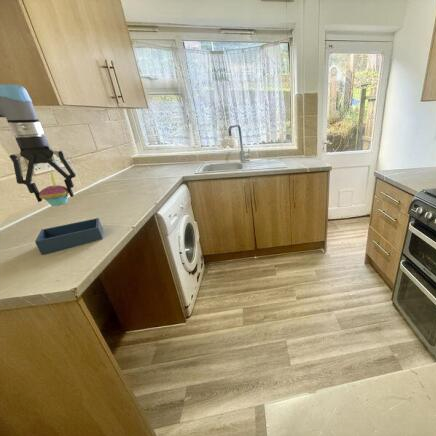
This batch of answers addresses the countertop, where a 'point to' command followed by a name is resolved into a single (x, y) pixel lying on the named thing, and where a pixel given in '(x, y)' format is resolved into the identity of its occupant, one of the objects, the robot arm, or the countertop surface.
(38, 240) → the bin
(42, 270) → the countertop surface
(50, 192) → the cupcake
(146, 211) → the countertop surface
